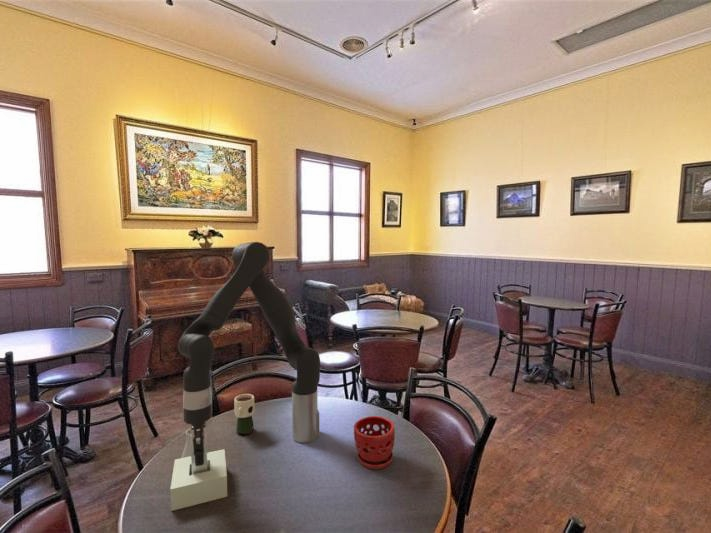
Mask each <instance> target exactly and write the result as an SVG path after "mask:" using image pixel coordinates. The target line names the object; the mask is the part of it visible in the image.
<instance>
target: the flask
mask: <svg viewBox="0 0 711 533" xmlns="http://www.w3.org/2000/svg"><path fill="white" fill-rule="evenodd" d="M185 435H186V439H185V440H186V441H185V445H184V448H183V451H182V454H181V457H180V458H185V457H189V456H191V428H189V429H187V430H186V431H185Z"/></svg>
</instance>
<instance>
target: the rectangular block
mask: <svg viewBox="0 0 711 533" xmlns="http://www.w3.org/2000/svg"><path fill="white" fill-rule="evenodd" d="M207 444H208V442H207V432H206V433H205V443H204V464H203V465H200V466H195V455H194V454H193V452H194V446H193V445H192V435H191V462H192V475H194V474H198V473H202V472H207V471H208V468H207V453H208V447H207V446H208V445H207Z"/></svg>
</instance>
